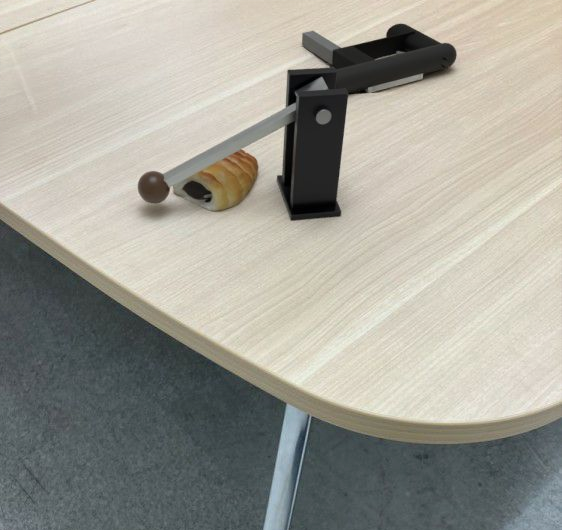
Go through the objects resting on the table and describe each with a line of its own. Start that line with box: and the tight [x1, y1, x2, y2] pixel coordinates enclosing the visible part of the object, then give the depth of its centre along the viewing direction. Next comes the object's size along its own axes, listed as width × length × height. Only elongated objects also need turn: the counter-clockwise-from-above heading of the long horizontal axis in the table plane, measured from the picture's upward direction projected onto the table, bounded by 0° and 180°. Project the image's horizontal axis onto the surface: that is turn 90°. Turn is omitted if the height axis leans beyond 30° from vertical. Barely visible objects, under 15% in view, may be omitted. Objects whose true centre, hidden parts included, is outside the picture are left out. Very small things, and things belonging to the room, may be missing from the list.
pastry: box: [172, 149, 259, 212], centre depth 79 cm, size 9×7×4 cm
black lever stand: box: [276, 66, 349, 221], centre depth 74 cm, size 5×7×13 cm
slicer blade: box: [137, 77, 329, 205], centre depth 72 cm, size 20×3×3 cm, turn 102°
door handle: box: [301, 23, 458, 95], centre depth 99 cm, size 3×20×16 cm
